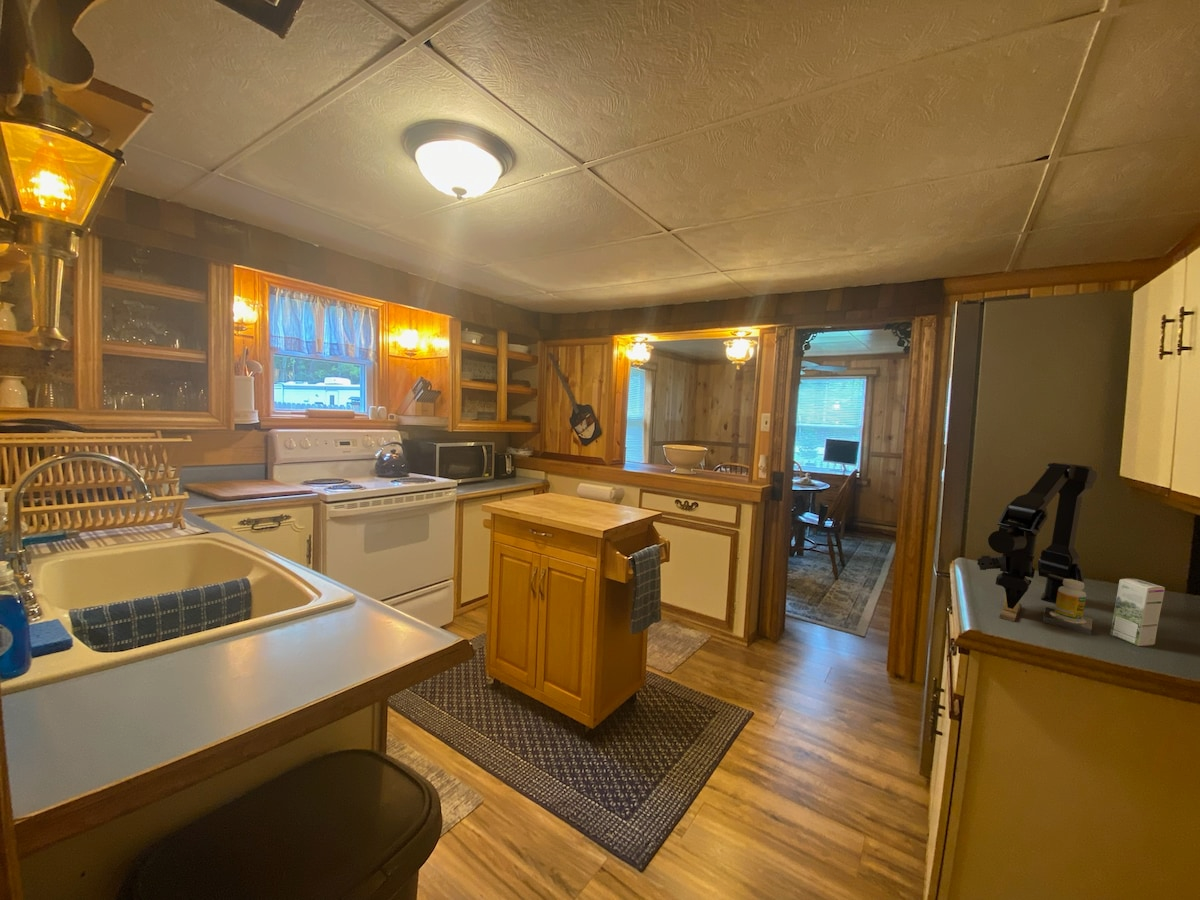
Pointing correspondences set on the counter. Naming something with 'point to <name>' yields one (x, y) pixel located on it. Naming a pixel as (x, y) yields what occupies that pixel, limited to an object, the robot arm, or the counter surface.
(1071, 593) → the supplement bottle
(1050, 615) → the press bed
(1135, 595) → the syrup box
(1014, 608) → the handle
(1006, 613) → the rail
